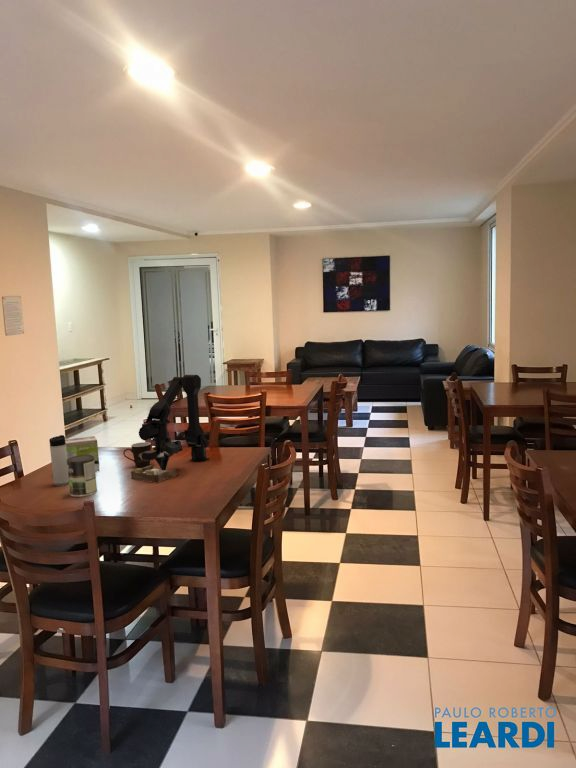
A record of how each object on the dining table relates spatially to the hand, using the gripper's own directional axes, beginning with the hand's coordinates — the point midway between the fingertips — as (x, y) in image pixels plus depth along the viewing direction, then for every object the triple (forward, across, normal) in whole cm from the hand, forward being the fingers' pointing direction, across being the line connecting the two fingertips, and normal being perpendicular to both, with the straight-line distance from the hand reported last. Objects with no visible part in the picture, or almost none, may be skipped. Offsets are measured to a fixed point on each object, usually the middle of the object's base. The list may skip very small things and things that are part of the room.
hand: (163, 471), depth 264 cm
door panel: (+2, -4, 0) cm, 5 cm away
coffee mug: (+1, +4, +20) cm, 21 cm away
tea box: (+2, -14, +38) cm, 41 cm away
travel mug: (+1, -30, +30) cm, 42 cm away
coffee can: (+2, -34, +10) cm, 35 cm away
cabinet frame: (+1, -6, 0) cm, 6 cm away
